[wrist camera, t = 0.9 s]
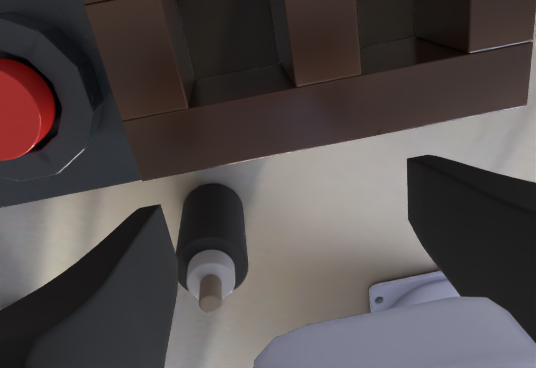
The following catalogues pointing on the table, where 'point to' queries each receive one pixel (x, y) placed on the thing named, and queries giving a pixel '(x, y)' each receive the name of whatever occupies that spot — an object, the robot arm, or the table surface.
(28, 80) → the power button
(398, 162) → the table surface
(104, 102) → the control box
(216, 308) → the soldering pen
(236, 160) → the stand
